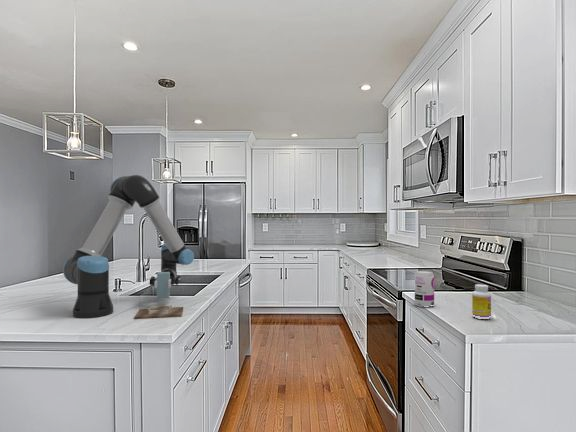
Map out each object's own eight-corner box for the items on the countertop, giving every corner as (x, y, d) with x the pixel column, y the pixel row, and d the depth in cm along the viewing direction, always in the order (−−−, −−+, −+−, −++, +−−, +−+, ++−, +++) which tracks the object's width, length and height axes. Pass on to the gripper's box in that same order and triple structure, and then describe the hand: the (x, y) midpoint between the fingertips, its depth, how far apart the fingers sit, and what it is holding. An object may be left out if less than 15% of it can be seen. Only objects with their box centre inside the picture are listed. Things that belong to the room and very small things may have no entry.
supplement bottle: (490, 321, 154) (490, 287, 154) (471, 318, 157) (471, 285, 157) (491, 317, 160) (491, 284, 160) (473, 315, 163) (473, 283, 163)
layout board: (134, 319, 159) (134, 313, 159) (139, 310, 172) (139, 305, 172) (181, 316, 162) (181, 310, 162) (183, 308, 176) (183, 303, 176)
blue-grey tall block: (156, 298, 177) (157, 273, 177) (158, 296, 182) (158, 272, 182) (168, 298, 178) (168, 273, 178) (169, 296, 183) (169, 271, 183)
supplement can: (435, 304, 182) (434, 271, 182) (433, 308, 175) (433, 273, 175) (416, 303, 186) (416, 270, 186) (413, 306, 178) (413, 272, 178)
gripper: (185, 284, 199) (183, 292, 177) (147, 285, 196) (140, 293, 173) (186, 269, 200) (183, 275, 177) (147, 269, 196) (140, 276, 173)
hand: (162, 284), depth 175 cm, fingers closed on blue-grey tall block, 5 cm apart
